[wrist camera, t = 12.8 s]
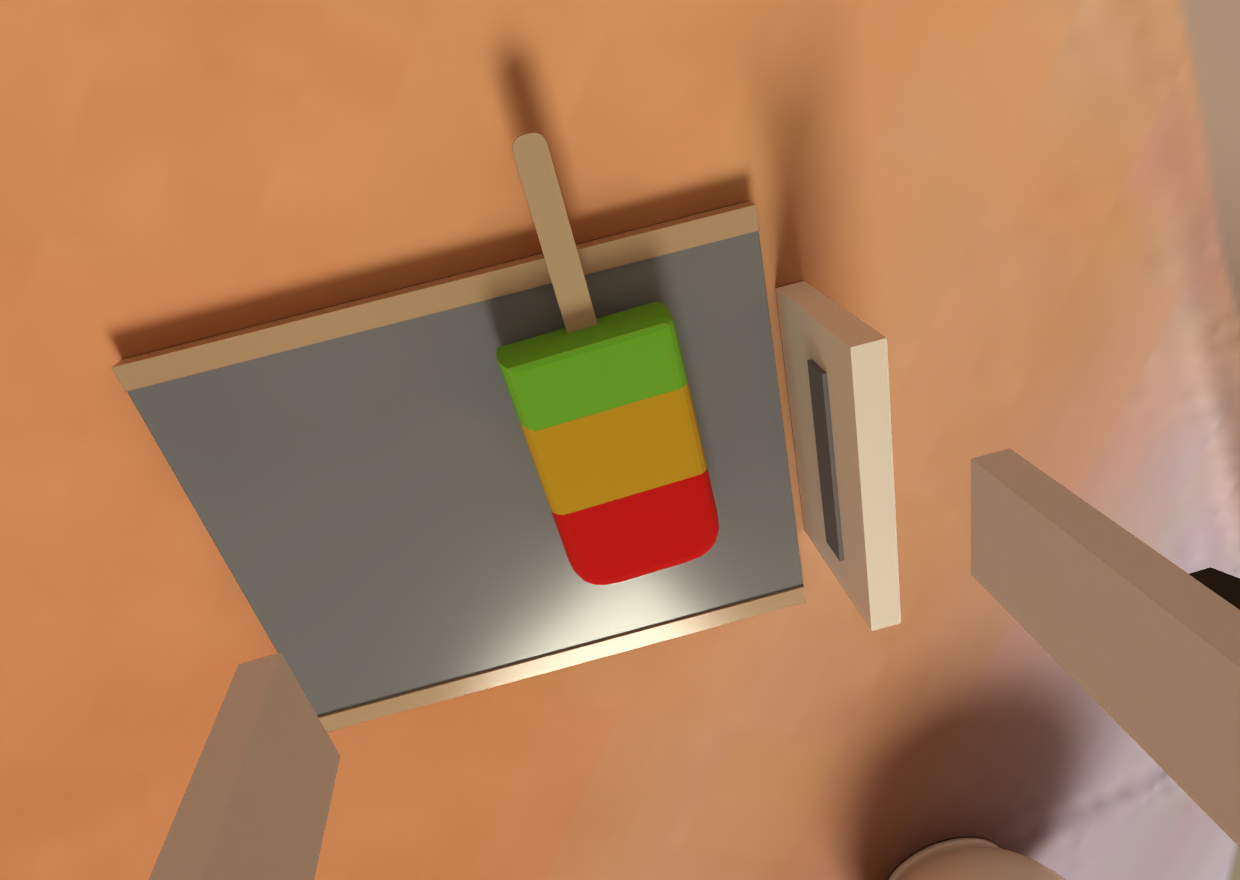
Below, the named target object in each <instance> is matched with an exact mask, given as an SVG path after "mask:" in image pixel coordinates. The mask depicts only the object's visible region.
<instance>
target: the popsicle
mask: <svg viewBox="0 0 1240 880" xmlns="http://www.w3.org/2000/svg"><path fill="white" fill-rule="evenodd" d="M512 150H513V155H514V158H515V162H516V165H517V168H518V172H519V175H520V178H521V182H522V185H523V188H524V192H525V195H526V198H527V201H528V205H529V208H530V211H531V215H532V218H533V221H534V225H535V228H536V231H537V235H538V238H539V241H540V245H541V248H542V251H543V255H544V258H545V261H546V265H547V268H548V271H549V274H550V278H551V281H552V284H553V288H554V291H555V294H556V298H557V301H558V304H559V308H560V311H561V314H562V318H563V321H564V324H565V328H563V329H560V330H556V331H553V332H549V333H546V334H542V335H539V336H536V337H532V338H529V339H525V340H522V341H519V342H515V343H512V344H508V345H505V346H501V347H498V348H497V349H496V358H497V361H498V363H499V366H500V369H501V372H502V375H503V377H504V380H505V383H506V386H507V389H508V392H509V394H510V397H511V400H512V403H513V406H514V408H515V411H516V414H517V417H518V420H519V422H520V425H521V428H522V431H523V434H524V437H525V439H526V442H527V445H528V448H529V451H530V453H531V456H532V459H533V462H534V465H535V467H536V470H537V473H538V476H539V479H540V482H541V484H542V487H543V490H544V493H545V496H546V498H547V501H548V504H549V507H550V510H551V512H552V515H553V518H554V521H555V524H556V526H557V529H558V532H559V535H560V538H561V540H562V543H563V546H564V549H565V552H566V555H567V557H568V560H569V562H570V564H571V566H572V568H573V570H574V572H575V573H577V574H578V575H579V576H580V577H581V578H582V579H583V580H584V581H586V582H588V583H591V584H594V585H608V584H613V583H618V582H622V581H626V580H629V579H632V578H636V577H639V576H642V575H646V574H649V573H652V572H656V571H659V570H662V569H666V568H669V567H672V566H676V565H679V564H682V563H686V562H688V561H691V560H693V559H696V558H698V557H701V556H702V555H704V554H705V553H706V552H708V551H709V550H710V549H711V548H712V547H713V545H714V544H715V542H716V539H717V535H718V531H719V520H718V513H717V509H716V504H715V500H714V495H713V491H712V486H711V482H710V478H709V473H708V469H707V464H706V460H705V455H704V451H703V447H702V442H701V438H700V433H699V429H698V424H697V420H696V416H695V411H694V407H693V402H692V398H691V393H690V389H689V385H688V380H687V376H686V371H685V367H684V362H683V358H682V354H681V349H680V345H679V340H678V336H677V332H676V327H675V323H674V320H673V317H672V314H671V313H670V311H669V310H668V308H667V307H666V306H665V305H664V304H662V303H660V302H652V303H648V304H645V305H642V306H638V307H635V308H631V309H628V310H625V311H621V312H618V313H614V314H611V315H607V316H604V317H601V318H597V319H596V316H595V313H594V309H593V306H592V302H591V298H590V295H589V291H588V288H587V284H586V280H585V277H584V273H583V270H582V266H581V263H580V259H579V255H578V252H577V248H576V245H575V241H574V237H573V234H572V230H571V227H570V223H569V219H568V216H567V212H566V209H565V205H564V202H563V198H562V194H561V191H560V187H559V184H558V180H557V176H556V173H555V169H554V166H553V162H552V158H551V155H550V151H549V148H548V145H547V142H546V140H545V138H544V137H543V136H542V135H541V134H540V133H537V132H530V133H525V134H522V135H520V136H518V137H517V138H516V139H515V140H514V142H513V146H512Z"/></svg>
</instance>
